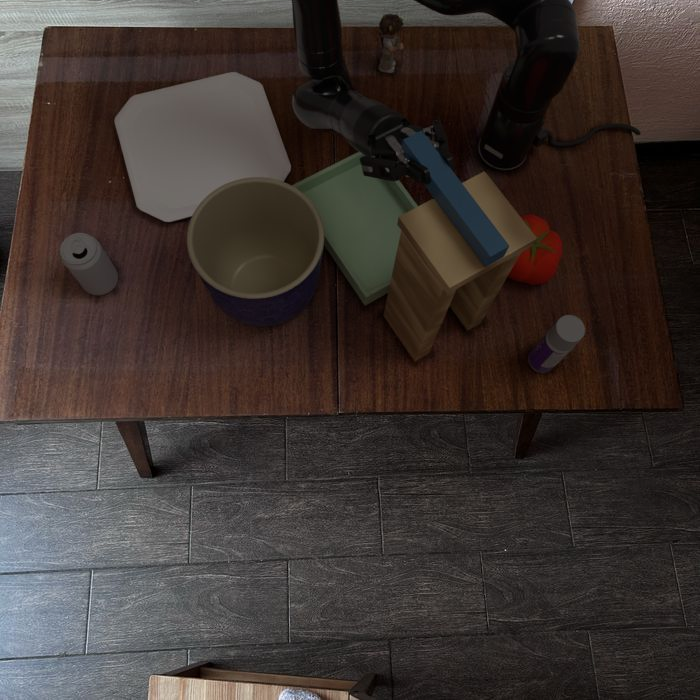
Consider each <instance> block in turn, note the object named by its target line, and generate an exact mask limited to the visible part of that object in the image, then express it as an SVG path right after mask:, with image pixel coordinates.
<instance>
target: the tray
mask: <svg viewBox="0 0 700 700" xmlns="http://www.w3.org/2000/svg"><path fill="white" fill-rule="evenodd" d="M363 156H365V155H364V154H362V153H361V152H359V151H357V152H356V153H353V154H351V155H350V156H347V157H345V158H344V159H341V160H339V161H338V162H336V163H333V164H332V165H330V166H328V167H326V168H324V169H321V170H320V171H318V172H315V173H313V174H312V175H309V176H308V177H305V178H303V179H302V180H300V181H298V182H295V183H293V184H292V186H294V187H295V188H297V189H298V190H300V191H301V192H302V193H304V194H305V195H306V196H307V197H308V198H309V199H310V200H311V202H312V203H313V204H314V206H315V207H316V209H317V210H318V212H319V214H320V217H321V220H322V223H323V227H324V247H325V249H326V250H327V252H328V253H329V255H330V256H331V258H332V259H333V261H334V262H335V264H336V265H337V267H338V268H339V270H340V271H341V272H342V274H343V275H344V277H345V279H346V280H347V282H348V283H349V284H350V286H351V287H352V289H353V291H354V292H355V293H356V295H357V297H358V298H359V300H360V301H361V303H362V304H363V305H364V306H367V305H369V304H371V303H372V302H374V301H376V300H378V299H380V298H381V297H383V296H385V295H386V294H387V295H388V291H389V286H390V282H391V277H392V272H393V267H394V262H395V258H396V253H397V248H398V243H399V238H400V234H401V229H400V228H399V226H398V225H397V223H398V217H399V216H401V215H403V214H405V213H407V212H409V211H411V210H412V209H414V208H416V207H418V206H419V205H418V204H417V203H416V201H415V200H414V199H413V197H412V196H411V194H410V193H409V192H408V190H407V189H406V188H405V186H404V185H403V184H402V182H401V181H400V179H399V180H398V181H388V180H383V179H378V178H373V177H368V176H364V175H363V171H362V167H361V163H360V158H361V157H363ZM385 169H386V171H387V172H389V169H388V168H385Z"/></svg>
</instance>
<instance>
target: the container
mask: <svg viewBox="0 0 700 700" xmlns="http://www.w3.org/2000/svg"><path fill="white" fill-rule="evenodd" d="M585 334H586V327H585V324H584V322H583V321H582V319H581V318H579V317H578V316H575V315H574V314H573V315H572V314H564V315H563V316H561V317H560V318H558V319H557V320H556V322H554V323H553V325H552V326H551V327H550V328H549V329H548V330H547V331H546V333H545V334H544V335H543V336H542V337H541V339H540V340H539V341H538V342H537V343H536V344H535V346H534V347H533V348H532V349H531V350H530V352H529V354H528V357H527V360H528V361H527V362H528V364H529V366H530V367H531V368H532V370H534V371H535V372H537V373H541V374H545V373H549V372H551V371H552V370H553V369H554V368H555V367H556V366H557V365H558V364H559V363H560V362H561V361H562V360H563V359H564V358H565V357H566V356H567V355H568V354H569V353H570V352H571V351H572V350H573V349H574V348H575V346H577V345H578V343H580V341H581V340H582V339H583V338H584V336H585Z"/></svg>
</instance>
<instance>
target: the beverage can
mask: <svg viewBox="0 0 700 700" xmlns="http://www.w3.org/2000/svg"><path fill="white" fill-rule="evenodd" d="M59 251H60V259H61V261H62V263H63V264H64V266H65V267H66V268H67V269H68V271H69V272H70V273H71V275H72V276H73V277H74V278H75V280H76V281H77V282H78V283H79V285H80V286H81V288H82V289H83V290H84V291H85V292H86V293H87V294H89V295H93V296H104V295H107V294H108V293H110V292H112V291H113V290H114V289H115V287H116V286H117V285H118V283H119V273H118V270H117V268H116V267H115V265H114V264H113V262H112V261H111V259H110V257H109V256H108V255H107V253H106V251H105V250H104V248H103V247H102V245H101V243H100V242H99V241H98V240H97V239H96V238H95V237H94V236H92V235H90V234H88V233H84V232H76V233H73V234H70V235H68V236H67V237H66V238H64V240H63V241H62V242H61V244H60V248H59Z"/></svg>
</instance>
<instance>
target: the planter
mask: <svg viewBox="0 0 700 700" xmlns="http://www.w3.org/2000/svg"><path fill="white" fill-rule="evenodd" d="M292 185H293V184H292ZM292 185H291V184H290V183H287V182H285V181H284V182H282V181H279V180H276V179H271V178H263V177H251V178H244V179H239V180H235V181H232V182H229V183H227V184H225V185H223V186H221V187H219V188H217V189H216V190H214V191H213V192H211V193H210V194H209V195H208V196H207V197H206V198H204V200H203V201H202V202H201V203H200V204H199V206H198V207H197V208H196V210H195V212H194V213H193V215H192V217H190V220H189V223H188V226H187V230H186V231H187V232H186V248H187V254H188V257H189V259H190V262H191V264H192V266H193V268H194V270H195V271H196V273H197V275H198V276H199V278H200V280H201V282H202V283H203V286H204V287H205V288H206V291H207V292H208V294H209V296H210V297H211V300H212V301H213V302H214V303H215V304H216V306H217V307H218V308H219V309H220V310H221V311H222V312H223V313H224V314H226V315H227V316H228V317H229V318H231V319H233V320H235V321H237V322H238V323H241V324H243V325H247V326H251V327H257V328H258V327H259V328H268V327H274V326H275V327H276V326H278V325H281V324H284V323H287V322H288V321H290V320H292V319H294V318H295V317H297V316H298V315H299V314H301V313H302V312H303V311H304V310H305V309H306V307H307V306H308V305H309V303H310V302H311V301H312V299H313V297H314V295H315V293H316V291H317V288H318V284H319V280H320V275H321V267H322V260H323V255H324V254H323V252H324V247H325V246H324V227H323V223H322V220H321V217H320V214H319V212H318V210H317V209H316V207H315V206H314V204H313V203H312V202H311V200H310V199H309V198H308V197H307V196H306V195H305V194H304V193H302V192H301V191H300V190H298V189H297V188H295V187H294V186H292Z"/></svg>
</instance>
